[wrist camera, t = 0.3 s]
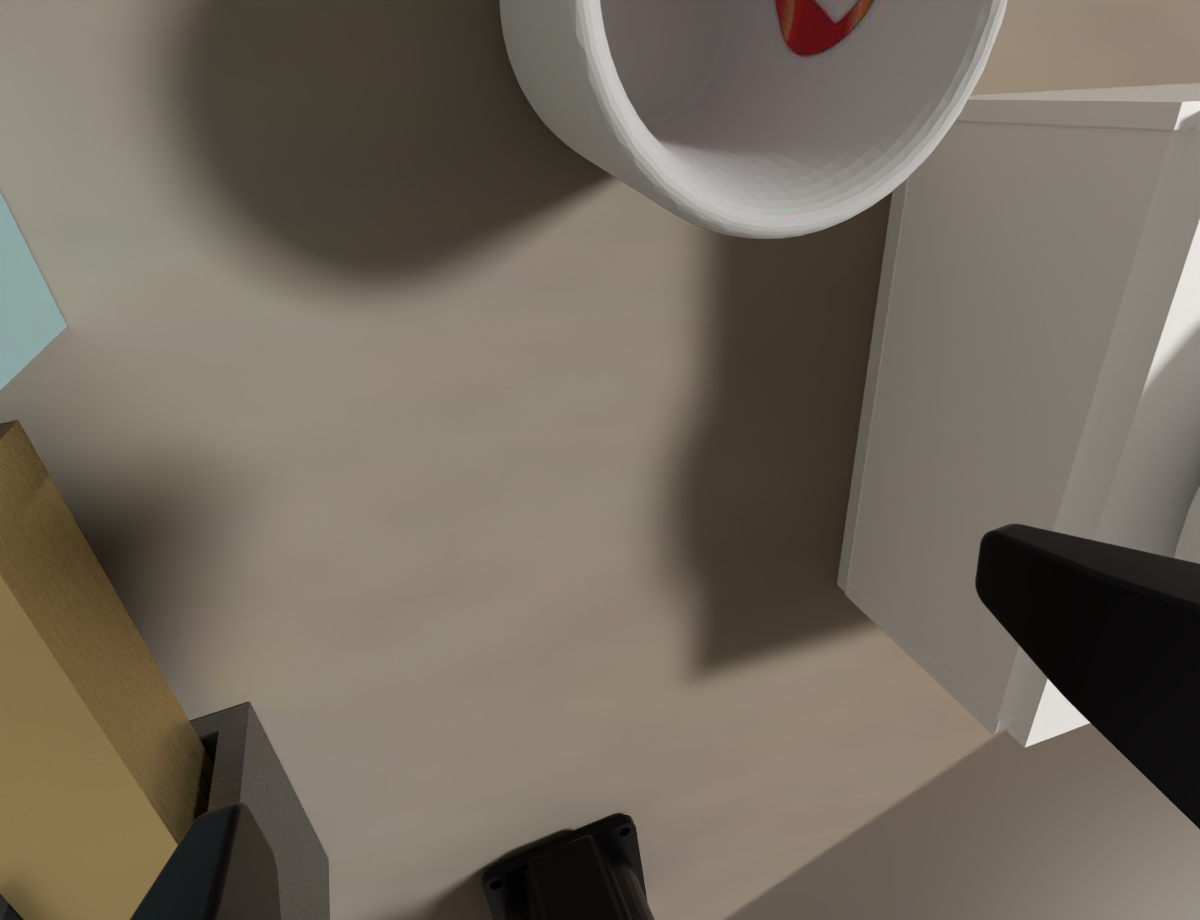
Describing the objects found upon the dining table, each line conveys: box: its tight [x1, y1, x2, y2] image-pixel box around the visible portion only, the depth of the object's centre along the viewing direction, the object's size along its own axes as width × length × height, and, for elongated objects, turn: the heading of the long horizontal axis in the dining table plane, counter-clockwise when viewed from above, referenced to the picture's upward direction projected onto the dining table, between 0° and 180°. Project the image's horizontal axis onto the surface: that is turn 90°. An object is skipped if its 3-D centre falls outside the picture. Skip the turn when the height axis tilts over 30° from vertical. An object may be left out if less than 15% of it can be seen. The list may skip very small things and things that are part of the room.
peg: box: [0, 420, 214, 920], centre depth 18 cm, size 18×4×4 cm, turn 6°
